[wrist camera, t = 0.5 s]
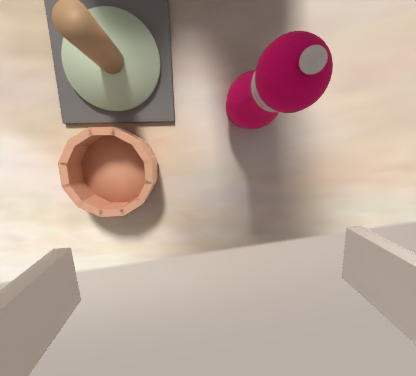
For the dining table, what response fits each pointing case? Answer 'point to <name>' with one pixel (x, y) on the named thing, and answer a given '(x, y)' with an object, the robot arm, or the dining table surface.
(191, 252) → the dining table surface
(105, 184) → the bowl
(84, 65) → the plunger
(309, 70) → the pepper mill
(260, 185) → the dining table surface
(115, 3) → the mat
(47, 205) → the dining table surface
